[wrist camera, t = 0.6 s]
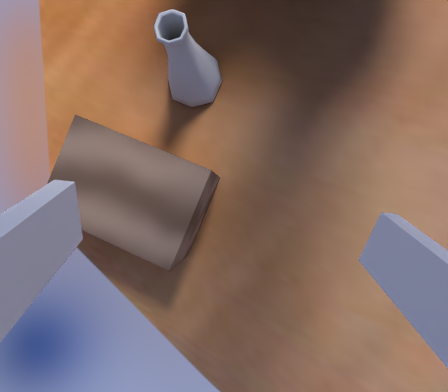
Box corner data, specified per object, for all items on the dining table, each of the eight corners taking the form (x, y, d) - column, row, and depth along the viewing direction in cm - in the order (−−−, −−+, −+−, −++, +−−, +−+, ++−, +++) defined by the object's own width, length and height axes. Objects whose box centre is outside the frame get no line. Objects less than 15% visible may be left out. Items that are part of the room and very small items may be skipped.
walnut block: (112, 133, 33) (75, 114, 26) (219, 177, 31) (211, 170, 24) (82, 207, 33) (37, 209, 26) (187, 255, 31) (169, 271, 24)
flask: (165, 106, 32) (128, 63, 22) (171, 53, 32) (136, -14, 22) (219, 109, 31) (205, 66, 21) (225, 55, 31) (213, -14, 21)
